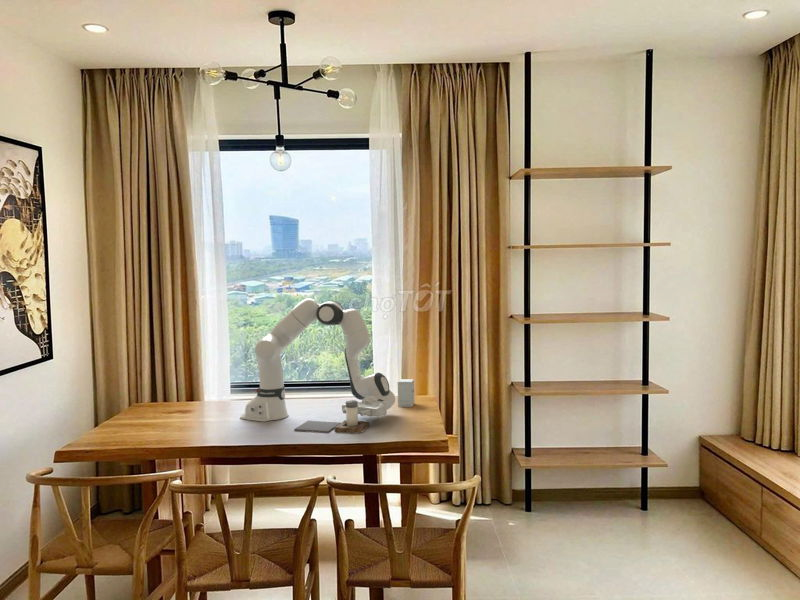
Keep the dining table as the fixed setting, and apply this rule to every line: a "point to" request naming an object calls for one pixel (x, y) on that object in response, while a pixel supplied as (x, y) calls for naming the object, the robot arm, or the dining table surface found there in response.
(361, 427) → the walnut socket
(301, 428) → the grey mat
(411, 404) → the supplement box
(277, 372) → the robot arm
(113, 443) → the dining table surface
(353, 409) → the cream canister
